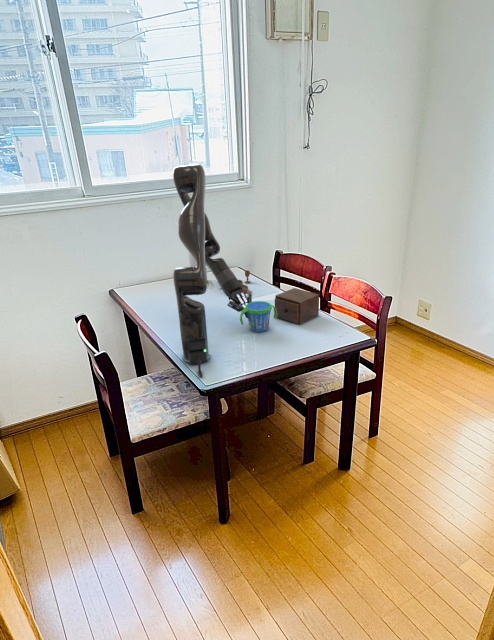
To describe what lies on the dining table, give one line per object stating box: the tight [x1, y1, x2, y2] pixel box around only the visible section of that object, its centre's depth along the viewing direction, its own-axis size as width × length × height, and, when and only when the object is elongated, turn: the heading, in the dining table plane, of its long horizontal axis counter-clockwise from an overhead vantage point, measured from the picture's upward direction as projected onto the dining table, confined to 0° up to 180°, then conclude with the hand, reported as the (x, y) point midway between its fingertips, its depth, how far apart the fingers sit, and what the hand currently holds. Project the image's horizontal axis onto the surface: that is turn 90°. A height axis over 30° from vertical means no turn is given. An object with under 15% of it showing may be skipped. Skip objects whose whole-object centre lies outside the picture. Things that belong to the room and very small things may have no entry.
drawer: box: [274, 298, 299, 324], centre depth 210 cm, size 13×12×8 cm
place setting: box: [220, 270, 252, 294], centre depth 244 cm, size 18×20×6 cm
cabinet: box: [274, 287, 320, 325], centre depth 211 cm, size 13×14×10 cm
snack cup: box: [239, 300, 278, 333], centre depth 200 cm, size 16×10×10 cm
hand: (251, 317), depth 203 cm, fingers closed
